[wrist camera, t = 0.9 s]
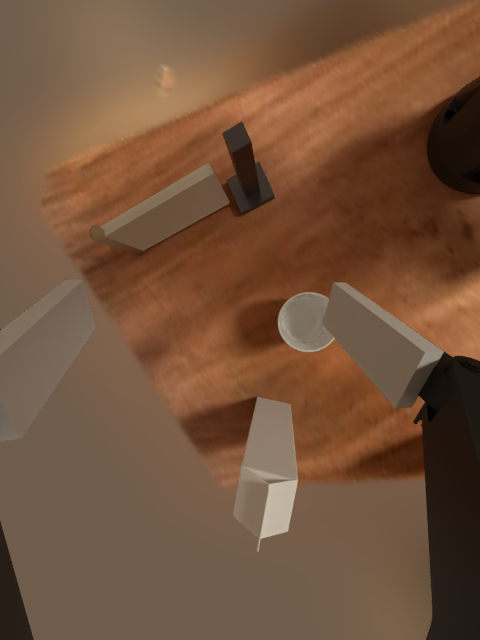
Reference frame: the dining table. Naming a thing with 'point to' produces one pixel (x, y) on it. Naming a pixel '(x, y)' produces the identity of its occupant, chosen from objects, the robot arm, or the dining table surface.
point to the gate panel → (164, 212)
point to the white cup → (304, 322)
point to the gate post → (246, 172)
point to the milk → (267, 471)
